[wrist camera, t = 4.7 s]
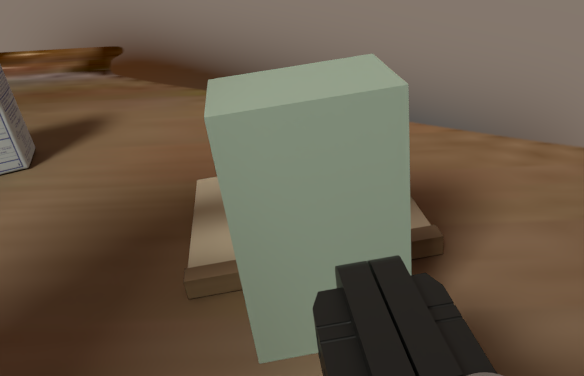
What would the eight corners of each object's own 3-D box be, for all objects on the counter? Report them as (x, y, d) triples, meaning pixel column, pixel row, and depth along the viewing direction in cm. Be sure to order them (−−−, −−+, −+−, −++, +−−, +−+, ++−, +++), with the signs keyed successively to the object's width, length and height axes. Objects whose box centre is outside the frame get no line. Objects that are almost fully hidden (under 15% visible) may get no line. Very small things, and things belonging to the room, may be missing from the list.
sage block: (412, 335, 19) (408, 84, 15) (259, 363, 19) (203, 117, 14) (383, 272, 23) (372, 53, 18) (253, 295, 23) (208, 79, 18)
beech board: (443, 253, 23) (443, 235, 23) (188, 299, 23) (183, 281, 22) (379, 157, 33) (378, 144, 33) (199, 188, 32) (195, 174, 32)
